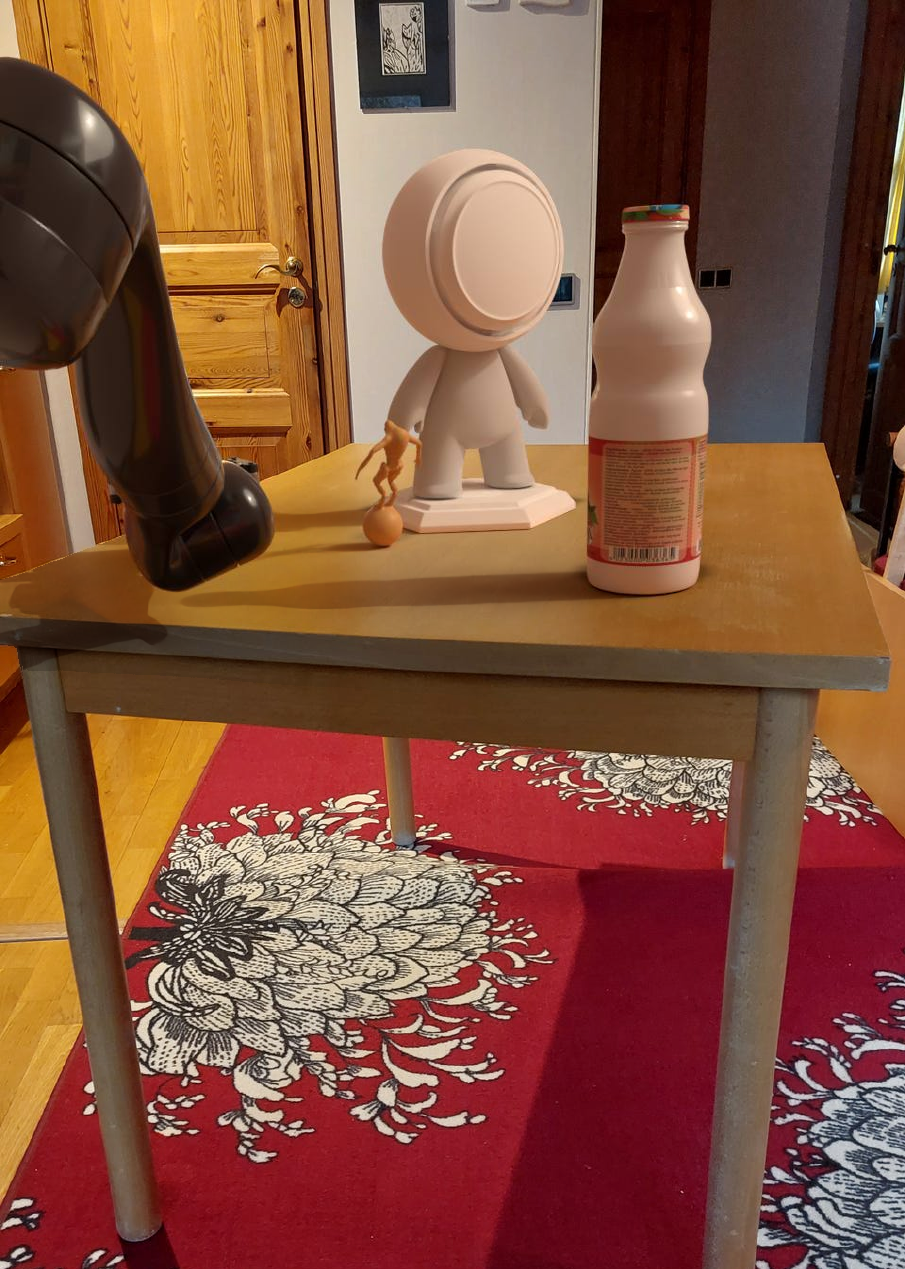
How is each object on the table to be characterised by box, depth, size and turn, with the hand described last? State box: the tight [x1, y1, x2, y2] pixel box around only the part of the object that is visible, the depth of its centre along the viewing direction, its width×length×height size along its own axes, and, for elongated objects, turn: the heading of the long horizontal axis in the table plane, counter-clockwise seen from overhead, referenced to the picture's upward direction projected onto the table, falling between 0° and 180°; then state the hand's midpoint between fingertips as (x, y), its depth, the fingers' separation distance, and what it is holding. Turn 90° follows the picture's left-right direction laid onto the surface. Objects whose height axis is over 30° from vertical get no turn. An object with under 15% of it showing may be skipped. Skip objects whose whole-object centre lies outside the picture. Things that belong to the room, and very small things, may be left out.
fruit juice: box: [586, 204, 712, 595], centre depth 87 cm, size 9×9×28 cm
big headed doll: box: [372, 148, 577, 534], centre depth 116 cm, size 20×23×35 cm
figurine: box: [354, 419, 422, 547], centre depth 107 cm, size 8×6×12 cm
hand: (180, 469), depth 109 cm, fingers closed on candle, 5 cm apart
